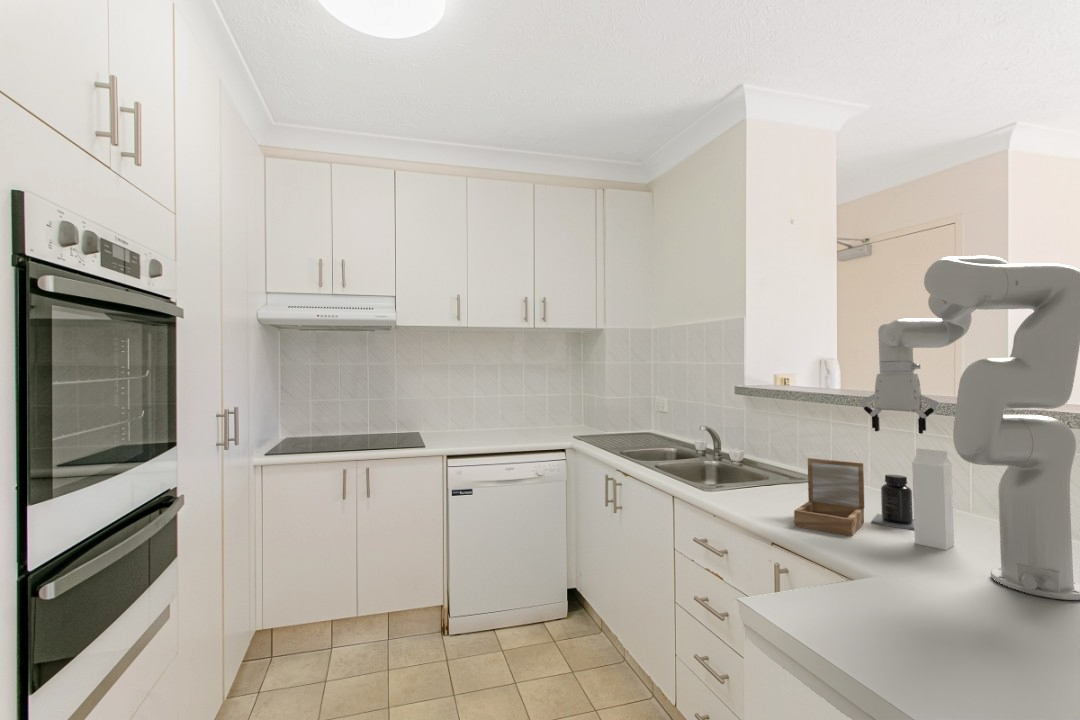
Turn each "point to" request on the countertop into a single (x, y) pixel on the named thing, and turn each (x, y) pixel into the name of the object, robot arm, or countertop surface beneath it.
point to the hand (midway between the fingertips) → (898, 432)
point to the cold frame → (833, 497)
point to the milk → (933, 499)
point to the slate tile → (891, 523)
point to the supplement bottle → (896, 500)
